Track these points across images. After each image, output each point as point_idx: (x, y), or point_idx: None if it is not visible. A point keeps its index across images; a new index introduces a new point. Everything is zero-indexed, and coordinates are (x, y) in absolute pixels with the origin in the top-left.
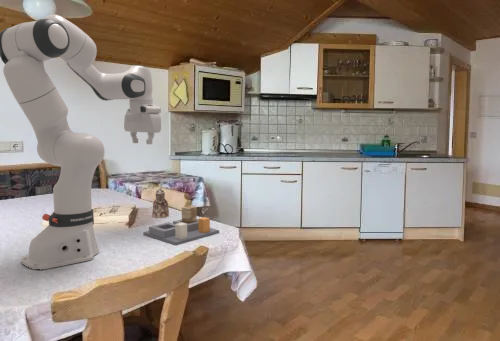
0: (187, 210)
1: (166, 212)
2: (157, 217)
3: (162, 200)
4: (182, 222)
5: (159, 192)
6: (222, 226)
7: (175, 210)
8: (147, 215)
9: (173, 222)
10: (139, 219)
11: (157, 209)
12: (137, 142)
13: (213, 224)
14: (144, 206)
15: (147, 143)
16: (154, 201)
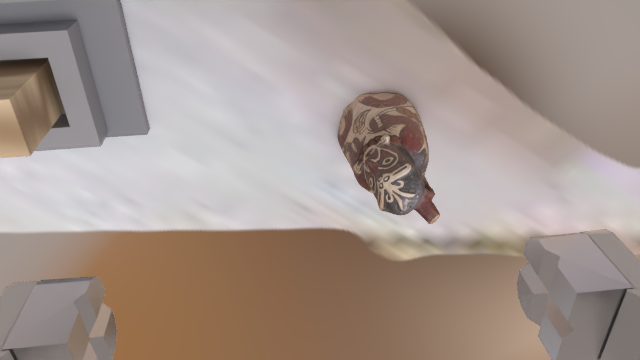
0: None
1: (343, 148)
2: (359, 98)
3: (362, 165)
4: (11, 54)
5: (392, 184)
6: (16, 213)
7: (413, 227)
8: (439, 89)
9: (61, 28)
10: (402, 12)
11: (370, 120)
12: (523, 288)
13: (72, 206)
14: (598, 173)
15: (49, 282)
16: (410, 139)
